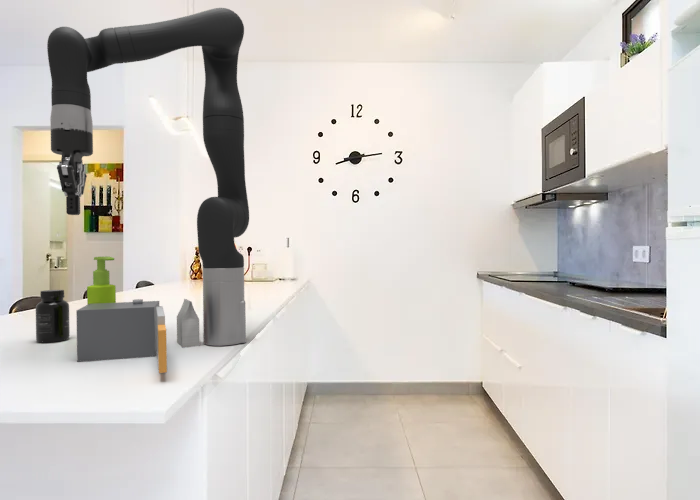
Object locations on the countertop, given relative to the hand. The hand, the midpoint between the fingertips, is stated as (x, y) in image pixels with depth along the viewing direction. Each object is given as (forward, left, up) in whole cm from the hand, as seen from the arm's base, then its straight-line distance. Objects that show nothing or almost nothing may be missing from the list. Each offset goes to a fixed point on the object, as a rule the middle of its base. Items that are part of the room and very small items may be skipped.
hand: (73, 214), depth 98 cm
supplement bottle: (+9, -18, -29) cm, 35 cm away
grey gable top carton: (-22, -3, -29) cm, 37 cm away
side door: (-18, +17, -29) cm, 38 cm away
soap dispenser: (-3, -12, -29) cm, 32 cm away
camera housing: (-9, +2, -29) cm, 30 cm away
